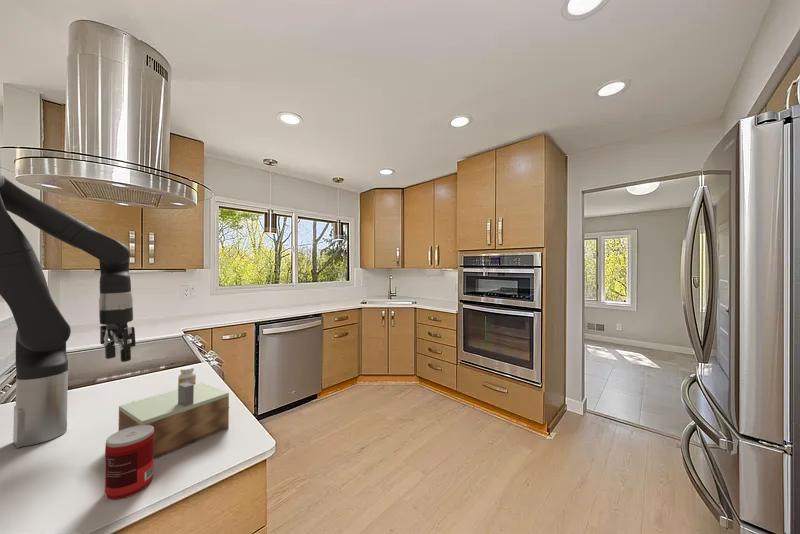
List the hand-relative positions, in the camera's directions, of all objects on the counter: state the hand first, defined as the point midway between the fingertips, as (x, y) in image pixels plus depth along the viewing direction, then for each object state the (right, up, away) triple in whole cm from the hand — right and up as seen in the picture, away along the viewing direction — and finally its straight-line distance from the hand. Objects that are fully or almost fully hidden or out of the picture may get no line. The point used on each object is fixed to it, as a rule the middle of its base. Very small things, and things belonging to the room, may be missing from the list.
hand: (118, 359), depth 93 cm
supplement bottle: (+7, -19, +20) cm, 29 cm away
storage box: (+25, -18, -10) cm, 32 cm away
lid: (+25, -9, -9) cm, 28 cm away
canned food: (+30, -18, -30) cm, 46 cm away
